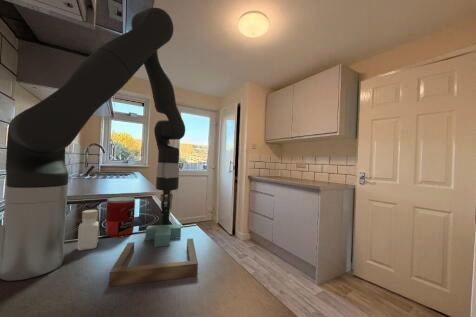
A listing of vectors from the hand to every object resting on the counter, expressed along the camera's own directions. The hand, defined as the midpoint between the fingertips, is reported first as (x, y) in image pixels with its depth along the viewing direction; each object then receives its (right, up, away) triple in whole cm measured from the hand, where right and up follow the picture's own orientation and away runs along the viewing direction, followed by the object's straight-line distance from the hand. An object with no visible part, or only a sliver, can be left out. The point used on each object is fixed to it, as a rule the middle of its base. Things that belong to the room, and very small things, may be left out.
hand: (165, 225), depth 71 cm
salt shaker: (-14, 0, -18) cm, 23 cm away
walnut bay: (+7, -1, -24) cm, 25 cm away
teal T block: (+3, -1, -11) cm, 11 cm away
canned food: (-12, -1, -7) cm, 14 cm away
